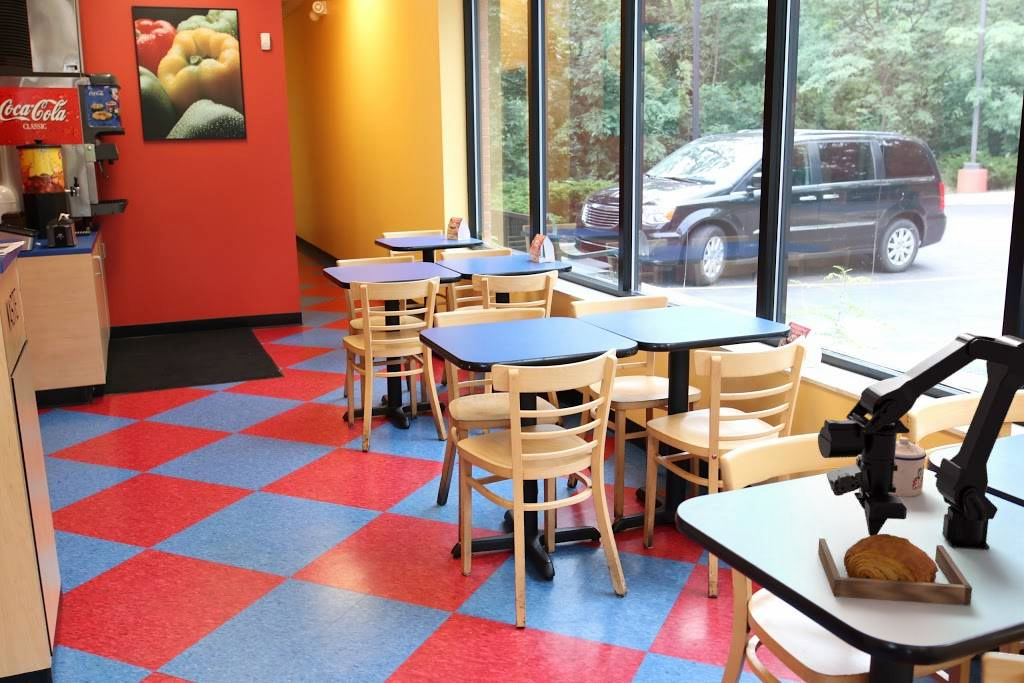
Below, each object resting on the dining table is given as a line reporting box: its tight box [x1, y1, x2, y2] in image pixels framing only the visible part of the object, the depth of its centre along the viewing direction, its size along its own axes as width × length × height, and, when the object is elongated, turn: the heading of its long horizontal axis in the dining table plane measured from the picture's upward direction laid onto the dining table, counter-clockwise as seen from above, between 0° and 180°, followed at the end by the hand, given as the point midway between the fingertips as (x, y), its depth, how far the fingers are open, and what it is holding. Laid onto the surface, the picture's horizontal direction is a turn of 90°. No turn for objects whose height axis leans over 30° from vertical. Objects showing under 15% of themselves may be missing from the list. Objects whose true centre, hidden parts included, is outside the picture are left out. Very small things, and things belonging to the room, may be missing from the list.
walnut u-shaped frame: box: [817, 537, 973, 606], centre depth 153 cm, size 21×16×3 cm
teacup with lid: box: [888, 436, 927, 498], centre depth 192 cm, size 12×9×12 cm
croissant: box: [843, 533, 939, 583], centre depth 152 cm, size 14×16×8 cm
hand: (872, 535), depth 165 cm, fingers closed
